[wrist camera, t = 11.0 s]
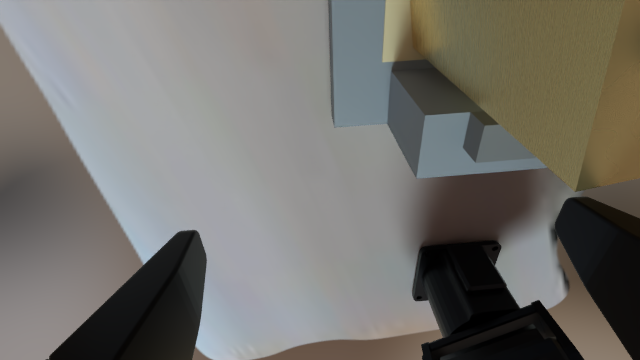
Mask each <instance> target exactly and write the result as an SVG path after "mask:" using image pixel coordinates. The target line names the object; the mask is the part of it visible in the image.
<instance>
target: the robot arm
mask: <svg viewBox="0 0 640 360" xmlns="http://www.w3.org/2000/svg"><path fill="white" fill-rule="evenodd" d="M555 230H556V233H557V235H558V237H559V239H560V241H561V243H562V244H563V246H564V248H565V250H566V252H567V254H568V256H569V258H570V260H571V262H572V263H573V265H574V267H575V269H576V271H577V273H578V275H579V277H580V279H581V280H582V282H583V284H584V286H585V287H586V289H587V291H588V292H589V294H590V295H591V297H592V299H593V300H594V302H595V303H596V305H597V306H598V308H599V309H600V311H601V312H602V314H603V315H604V317H605V318H606V320H607V321H608V323H609V324H610V326H611V327H612V329H613V330H614V332H615V333H616V335H617V336H618V338H619V339H620V341H621V343H622V344H623V345H624V347H625V349H626V350H627V352H628V353H629V355H630V356H631V358H632V359H633V360H640V218H637V217H635V216H632V215H630V214H628V213H625V212H623V211H620V210H618V209H615V208H613V207H611V206H608V205H606V204H603V203H601V202H599V201H596V200H594V199H591V198H589V197H572V198H568V199H567V200H566V201H565V202H564V204H563V206H562V209H561V211H560V213H559V215H558V217H557V219H556V222H555ZM500 250H501V245H500V244H499V242H498V241H483V242H472V243H461V244H450V245H439V246H427V247H423V248H422V249H421V250H420V252H419V258H418V264H417V270H416V276H415V282H414V288H413V293H412V296H413V299H414V300H415V301H426V300H429V303H430V305H431V308H432V311H433V313H434V316H435V318H436V321H437V324H438V326H439V329H440V331H441V334H442V336H443V338H442V339H439V340H436V341H433V342H431V343H429V342H427V343H424V344H422V345H421V346H422V351H423V356H422V359H423V360H584V359H583V357H582V356H581V355H580V353H579V352H578V350H577V349H576V347H575V346H574V345H573V343H572V342H571V341H570V340H569V338H568V337H567V336H566V334H565V333H564V332H563V330H562V329H561V328H560V327H559V325H558V324H557V323H556V321H555V320H554V319H553V318H552V316H551V315H550V314H549V312H548V311H547V310H546V308H545V307H544V306H543V305H542V303H541V302H540V301H539V300H537V301H535V302H532V303H531V305H528V306H526V307H523V308H520V307H519V306H518V304H517V303H516V301H515V299H514V298H513V296H512V295H511V293H510V291H509V290H508V288H507V287H506V286H507V285H506V283H505V281H504V280H503V278H502V276H501V275H500V273H499V272H498V270H497V268H496V267H495V264H496V261H497V258H498V255H499V253H500ZM206 264H207V258H206V253H205V250H204V247H203V244H202V241H201V238H200V235H199V233H198V232H197V231H196V230H187V231H180V232H178V233H177V234H175V235H174V236H173V237H172V238H171V239H170V240H169V241H168V242H167V243H166V244H165V245H164V246H163V247H162V248H161V249H160V250H159V251H158V252H157V253H156V254H155V255H154V256H153V257H152V258H151V259H150V260H148V261H147V262H146V263H145V264H144V265H143V266H142V267H141V268H140V269H139V270H138V271H137V272H136V273H135V274H134V275H133V276H132V277H131V278H130V279H129V280H128V281H127V282H126V283H125V284H124V285H123V286H122V287H121V288H119V289H118V290H117V291H116V292H115V293H114V294H113V295H112V296H111V297H110V298H109V299H108V300H107V301H106V302H105V303H104V304H103V305H102V306H101V307H100V308H99V309H98V310H97V311H96V312H94V313H93V314H92V315H91V316H90V317H89V319H87V320H86V321H85V322H84V323H83V324H82V325H81V326H80V327H79V328H78V329H77V330H76V331H75V332H74V333H73V334H72V335H71V336H70V337H68V338H67V339H66V340H65V341H64V342H63V343H62V344H61V345H60V346H59V347H58V348H57V349H56V350H55V351H54V352H53V353H52V354H51V355H50V356H49V359H46V360H192V358H193V353H194V349H195V344H196V340H197V336H198V331H199V326H200V319H201V311H202V302H203V292H204V283H205V273H206Z"/></svg>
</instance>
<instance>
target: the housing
mask: <svg viewBox="0 0 640 360" xmlns="http://www.w3.org/2000/svg"><path fill="white" fill-rule="evenodd" d="M410 12H411V27H412V42H413V48H414V49H415V50H416V51H418V52H419V53H420V54H421V55H422V56H423V57H424V58H425V59H426V60H428V61H429V62H430V63H431V64H432V65H433V66H434V67H435V68H437V69H438V70H439V71H440V72H441V73H442V74H443V75H444V76H446V77H447V78H448V79H449V80H450V81H451V82H452V83H453V84H455V85H456V86H457V87H458V88H459V89H460V90H461V91H462V92H464V93H465V94H466V95H467V96H468V97H469V98H470V99H471V100H473V101H474V102H475V103H476V104H477V105H478V106H479V107H480V108H482V109H483V110H484V111H485V112H486V113H487V114H488V115H489V116H491V117H492V118H493V119H494V120H495V121H496V122H497V123H498V124H499V125H501V126H502V127H503V128H504V129H505V130H506V131H507V132H508V133H510V134H511V135H512V136H513V137H514V138H515V139H516V140H517V141H519V142H520V143H521V144H522V145H523V146H524V147H525V148H526V149H528V150H529V151H530V152H531V153H532V154H533V155H534V156H535V157H537V158H538V159H539V160H540V161H541V162H542V163H543V164H544V165H546V166H547V167H548V168H549V169H550V170H551V171H552V172H553V173H555V174H556V175H557V176H558V177H559V178H560V179H561V180H562V181H563V182H565V183H566V184H567V185H568V186H569V187H570V188H571V189H572V190H574V191H575V192H577V191H582V190H586V189H591V188H596V187H600V186H605V185H609V184H614V183H619V182H623V181H628V180H632V179H637V178H640V0H410Z"/></svg>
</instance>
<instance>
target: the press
mask: <svg viewBox="0 0 640 360" xmlns="http://www.w3.org/2000/svg"><path fill="white" fill-rule="evenodd" d="M329 33H330V69H331V104H332V119H333V123H334V127H348V126H361V125H375V124H388V126H389V128H390V130H391V132H392V134H393V135H394V137H395V139H396V141H397V143H398V145H399V147H400V149H401V151H402V152H403V154H404V156H405V158H406V160H407V162H408V164H409V166H410V167H411V169H412V171H413V173H414V175H415V177H416V179H418V178H431V177H443V176H455V175H467V174H479V173H492V172H504V171H516V170H528V169H540V168H548V167H547V166H546V165H544V164H543V163H542V162H541V161H540V160H539V159H538V158H537V157H535V156H534V155H533V154H532V153H531V152H530V151H529V150H528V149H526V148H525V147H524V146H523V145H522V144H521V143H520V142H519V141H517V140H516V139H515V138H514V137H513V136H512V135H511V134H510V133H508V132H507V131H506V130H505V129H504V128H503V127H502V126H501V125H499V124H498V123H497V122H496V121H495V120H494V119H493V118H492V117H491V116H489V115H488V114H487V113H486V112H485V111H484V110H483V109H482V108H480V107H479V106H478V105H477V104H476V103H475V102H474V101H473V100H471V99H470V98H469V97H468V96H467V95H466V94H465V93H464V92H462V91H461V90H460V89H459V88H458V87H457V86H456V85H455V84H453V83H452V82H451V81H450V80H449V79H448V78H447V77H446V76H444V75H443V74H442V73H441V72H440V71H439V70H438V69H437V68H435V67H434V66H433V65H432V64H431V63H430V62H429V61H428V60H426V59H425V58H424V57H423V56H422V55H421V54H420V53H419V52H418V51H416V50H415V49H414V48H413V42H412V27H411V12H410V0H329Z"/></svg>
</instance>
